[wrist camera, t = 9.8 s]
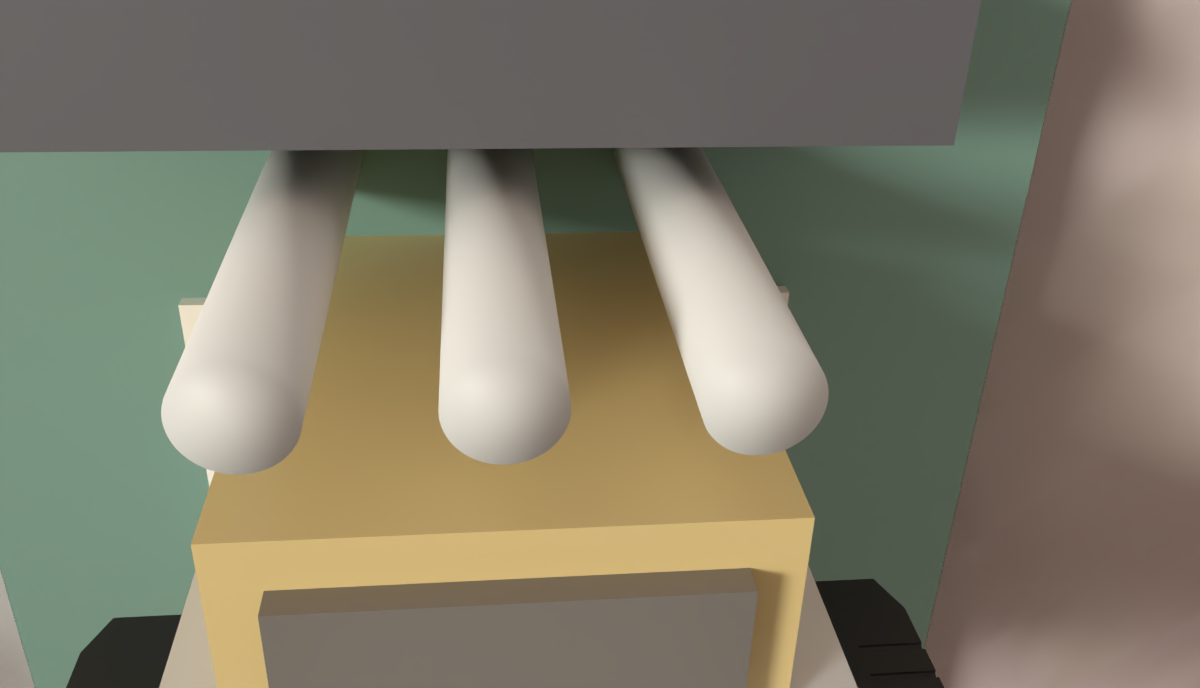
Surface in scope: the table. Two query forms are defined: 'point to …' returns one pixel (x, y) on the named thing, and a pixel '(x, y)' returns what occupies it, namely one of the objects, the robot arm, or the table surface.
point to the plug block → (503, 511)
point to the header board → (495, 247)
